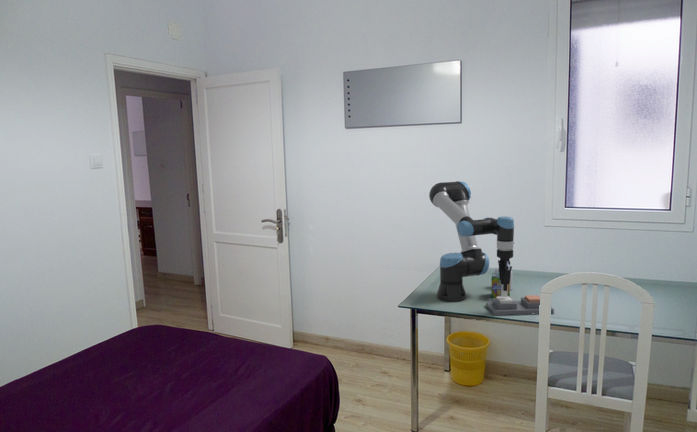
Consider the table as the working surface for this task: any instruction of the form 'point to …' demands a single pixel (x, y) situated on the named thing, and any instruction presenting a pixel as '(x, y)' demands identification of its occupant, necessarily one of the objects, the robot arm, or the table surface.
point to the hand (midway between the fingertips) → (504, 296)
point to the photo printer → (510, 277)
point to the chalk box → (497, 286)
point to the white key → (504, 300)
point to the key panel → (514, 307)
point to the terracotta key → (532, 298)
